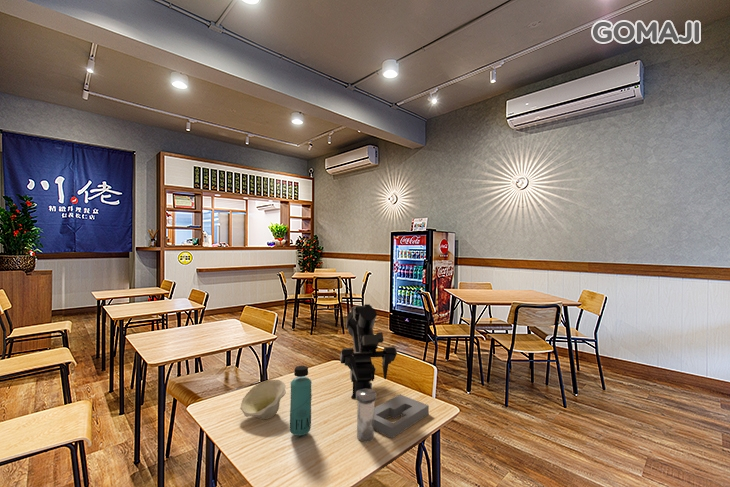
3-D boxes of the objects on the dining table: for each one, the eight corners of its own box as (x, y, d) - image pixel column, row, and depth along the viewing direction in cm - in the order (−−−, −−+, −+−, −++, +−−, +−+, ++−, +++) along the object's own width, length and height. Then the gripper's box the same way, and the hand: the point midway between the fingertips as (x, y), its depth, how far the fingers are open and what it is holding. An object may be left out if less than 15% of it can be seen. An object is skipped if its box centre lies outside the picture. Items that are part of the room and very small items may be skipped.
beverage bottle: (292, 443, 94) (293, 372, 95) (286, 431, 100) (287, 365, 100) (314, 437, 97) (315, 369, 98) (307, 426, 103) (308, 362, 103)
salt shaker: (353, 441, 96) (353, 396, 96) (357, 430, 101) (358, 387, 102) (373, 444, 94) (374, 398, 95) (377, 433, 100) (377, 389, 100)
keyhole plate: (391, 438, 97) (391, 428, 98) (362, 423, 106) (362, 413, 106) (428, 414, 112) (428, 405, 112) (400, 402, 120) (400, 394, 120)
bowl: (231, 416, 109) (232, 385, 109) (269, 402, 119) (270, 374, 119) (255, 434, 99) (255, 400, 99) (294, 417, 109) (294, 386, 109)
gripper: (341, 324, 110) (345, 369, 99) (395, 323, 114) (405, 366, 103) (339, 341, 118) (341, 385, 107) (389, 339, 121) (397, 382, 110)
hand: (371, 379), depth 106 cm, fingers open, 9 cm apart
